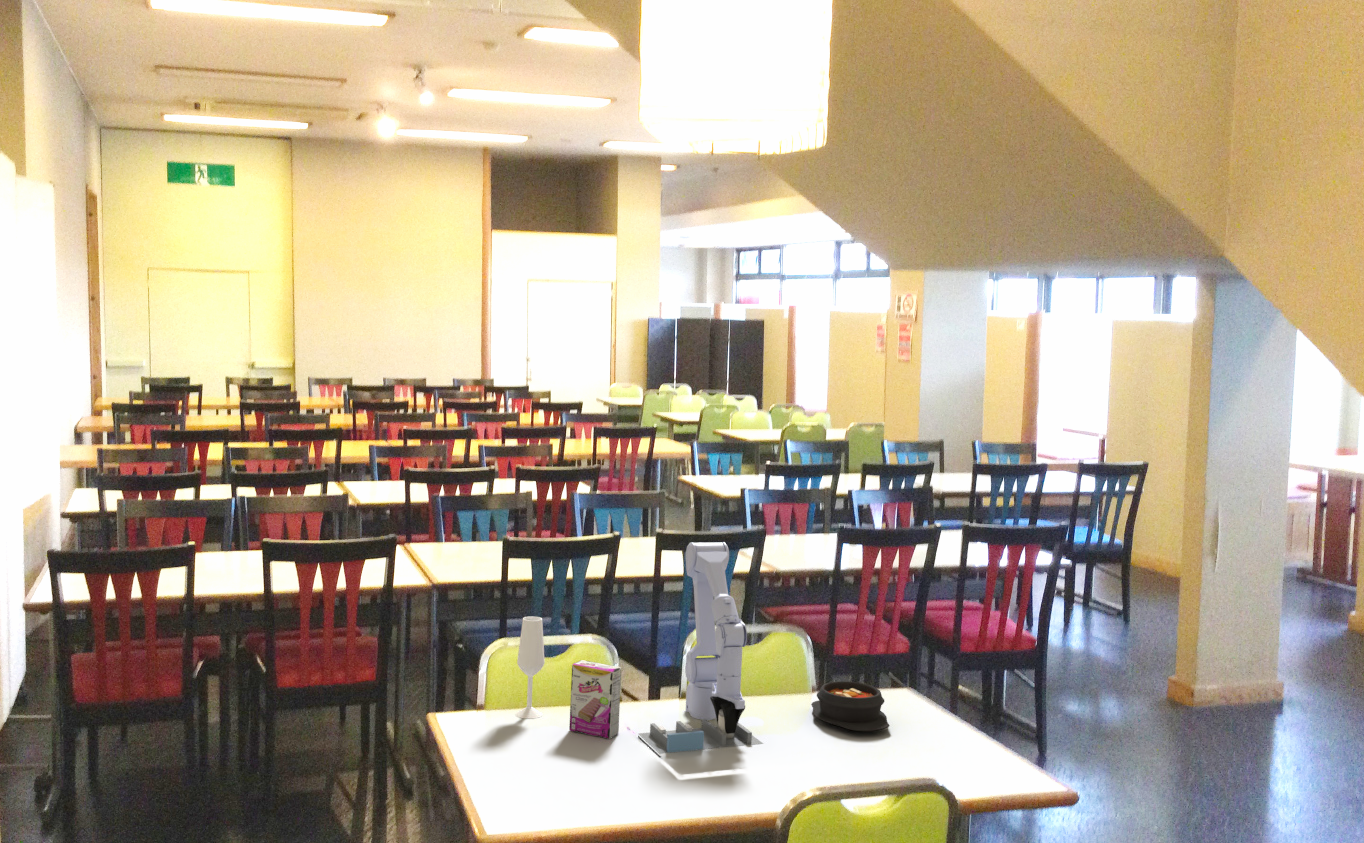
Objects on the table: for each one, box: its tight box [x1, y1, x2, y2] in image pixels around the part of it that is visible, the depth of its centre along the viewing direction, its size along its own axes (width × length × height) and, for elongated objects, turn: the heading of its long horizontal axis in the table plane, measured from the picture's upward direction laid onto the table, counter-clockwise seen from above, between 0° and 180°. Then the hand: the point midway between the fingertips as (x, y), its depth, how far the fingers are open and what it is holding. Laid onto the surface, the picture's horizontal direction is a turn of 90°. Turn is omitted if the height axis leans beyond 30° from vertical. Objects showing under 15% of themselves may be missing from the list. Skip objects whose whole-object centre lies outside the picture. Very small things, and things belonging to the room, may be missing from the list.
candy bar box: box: [569, 659, 622, 740], centre depth 286 cm, size 11×5×16 cm, turn 65°
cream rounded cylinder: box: [717, 709, 735, 739], centre depth 285 cm, size 4×4×6 cm
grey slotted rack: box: [637, 719, 764, 759], centre depth 283 cm, size 14×26×5 cm, turn 112°
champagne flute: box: [515, 616, 546, 720], centre depth 297 cm, size 7×7×24 cm
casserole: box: [811, 680, 890, 732], centre depth 304 cm, size 25×19×8 cm
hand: (726, 729), depth 285 cm, fingers closed on cream rounded cylinder, 4 cm apart
